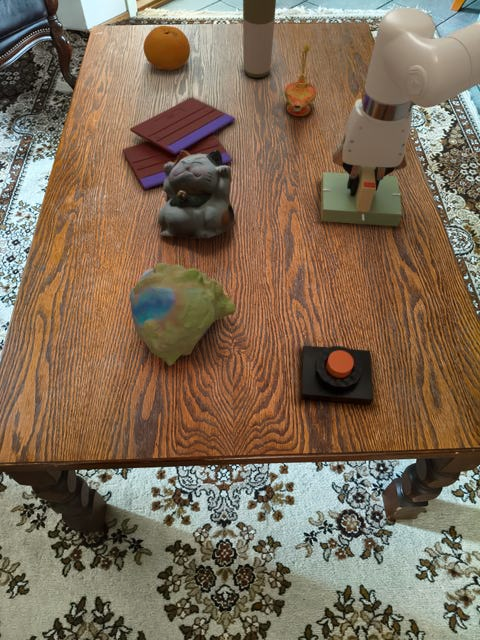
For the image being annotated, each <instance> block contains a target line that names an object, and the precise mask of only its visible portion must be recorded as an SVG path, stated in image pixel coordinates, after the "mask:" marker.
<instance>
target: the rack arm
mask: <svg viewBox="0 0 480 640" xmlns="http://www.w3.org/2000/svg"><path fill="white" fill-rule="evenodd" d="M374 169H375V167H374V166H360V168H359V171H358V175H359V181H358V185H357V189H356V210H357V211H361V212H369V210H370V206H371V203H372V200H373V197H374V193H375V190H376V184H375V172H374Z"/></svg>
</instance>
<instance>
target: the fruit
mask: <svg viewBox="0 0 480 640" xmlns="http://www.w3.org/2000/svg"><path fill="white" fill-rule="evenodd" d="M143 52H144V56H145V58H146V61H148V63H149V64H150V65H151V66H152V67H154V68H155V69H159V70H163V71H173V70H177V69H179V68H182V67H183V66H184V65H185V64H187V62H188V60H189V59H190V56H191V45H190V41H189V39H188V37H187V35H186V34H185V33H184V32H183V30H181V29H179V27H176V26H170V25H159V26H156V27H154V28H153V29H152V30H151V31H150V32H149V33H148V34H147V36H145V39H144V42H143Z"/></svg>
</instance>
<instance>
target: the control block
mask: <svg viewBox="0 0 480 640" xmlns="http://www.w3.org/2000/svg"><path fill="white" fill-rule="evenodd" d="M339 350H341V351H345V352H347V353H349V354H350V355H351V356H352V358H353V361H354V365H353V368H352V370H351V373H350V374H349V375H348V376H347V377H345V378H336V377H333V376H332V375H331V374H330V373H329V372H328V371H327V368H326V364H327V361H328V358H329V355H330V354H331V353H332V352H334V351H339ZM371 356H372V355H371V350H367V349H355V348H348V347H346V346H341V345H339V346H337V345H331V346H329V347H328V346H316V345H315V346H314V345H302V349H301V365H300V366H301V371H300V401H304V402H305V401H307V402H317V403H318V402H319V403H331V404H343V405H354V406H355V405H356V406H367V407H370V406H371V405H372V403H373V401H374V390H373V388H374V387H373V374H372V358H371Z"/></svg>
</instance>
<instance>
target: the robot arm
mask: <svg viewBox="0 0 480 640" xmlns="http://www.w3.org/2000/svg"><path fill="white" fill-rule="evenodd" d="M378 24H379V25H378V28H377V32H376V35H375V40H374V44H373V48H372V52H371V57H370V61H369V65H368V70H367V74H366V78H365V83H364V86H363V92H362V95H361V98H358V99H357V100H356V101H355V102H354V104H353V106H352V109H351V111H350V112H349V117H348V119H347V121H346V126H345V128H344V132H343V135H342V140H341V145H339V147H338V149H337V150H335V152H334V153H333V154H332V155H331V157H332V158H331V159H332V163H333V164H335V165H337V166H339V167H342V169H343V170H344V171H345V173H348V174H349V179H348V183H347V189H350V196H354V195H355V192H356V189H357V185H358V181H359V175H358V171H359V168H360V166H374V172H375V184H376V190H375V191H377V189H378V186H379V182H380V181H381V180H383V178H384V176H389V174H392V173H393V172H394V171H398V170H402V169H405V168H406V167H408V164H407V163H408V162H407V157H406V151H407V146H408V142H409V137H410V133H411V127H412V121H413V107H414V106H418V107H421V108H427V109H428V108H433V107H436V106H439V105H441V104H442V103H445V102H446V101H449V100H451V99H453V98H455V97H457V96H458V95H460V94H462V93H464V92H466V91H469V90H470V89H472V88H474V87H477V86H478V85H480V19H479V20H477V21H475V22H472V23H471V24H469V25H466V26H465V27H462V28H459V29H458V30H455V31H453V32H450V33H449V34H446V35H444V36H442V37H436V38H434V37H435V34H436V26H435V22H434V20H433V18H432V16H430V15H429V14H428V13H426V12H425V11H422V10H420V9H417V8H413V7H398V8H394V9H391V10H390V11H388V12H386V14H385V15H383V17H382V18H381V20H380V22H379V23H378Z"/></svg>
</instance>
